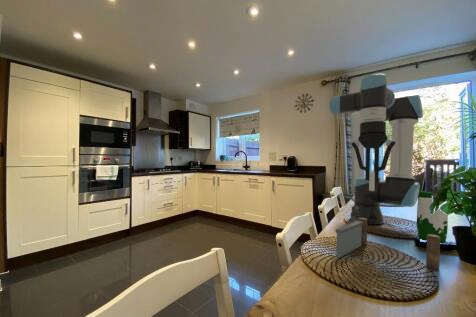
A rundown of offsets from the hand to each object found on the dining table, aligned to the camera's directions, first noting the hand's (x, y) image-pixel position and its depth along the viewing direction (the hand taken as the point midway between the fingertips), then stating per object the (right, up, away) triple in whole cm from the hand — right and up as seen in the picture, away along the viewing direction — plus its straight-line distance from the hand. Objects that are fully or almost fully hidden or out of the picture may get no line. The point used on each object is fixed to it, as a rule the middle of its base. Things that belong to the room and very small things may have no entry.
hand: (371, 190), depth 74 cm
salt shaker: (+8, -22, +25) cm, 34 cm away
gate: (-7, -22, +2) cm, 23 cm away
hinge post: (+2, -22, +8) cm, 24 cm away
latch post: (+13, -23, -9) cm, 28 cm away
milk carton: (+31, -23, +11) cm, 40 cm away
